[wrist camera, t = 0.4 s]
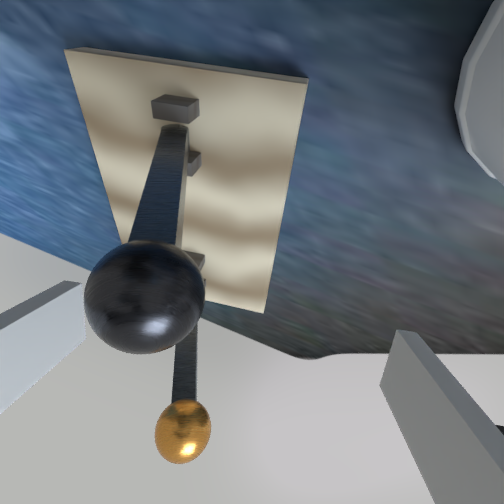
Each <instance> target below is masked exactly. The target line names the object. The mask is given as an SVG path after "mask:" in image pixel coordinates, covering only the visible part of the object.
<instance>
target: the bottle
mask: <svg viewBox="0 0 504 504" xmlns="http://www.w3.org/2000/svg"><path fill="white" fill-rule="evenodd" d="M454 107H455V111H456V116H457V121H458V126H459V130H460V135H461V140H462V142H463V144H464V147H465V149H466V151H467V152H468V153H469V154H470V155H471V156H472V157H473V158H474V160H475V161H476V162H477V163H478V164H479V165H480V166H481V167H482V169H483V170H484V171H485V172H486V173H487V174H488V175H489V176H490V177H493V178H495V179H497V180H498V181H499V182H500V183H501V184H502V185H503V186H504V0H494V1H493V3H492V5H491V6H490V8H489V10H488V12H487V14H486V16H485V18H484V20H483V22H482V24H481V26H480V28H479V30H478V32H477V33H476V35H475V37H474V39H473V41H472V43H471V45H470V47H469V49H468V51H467V53H466V55H465V57H464V58H463V62H462V67H461V72H460V78H459V83H458V88H457V93H456V98H455V104H454Z"/></svg>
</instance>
